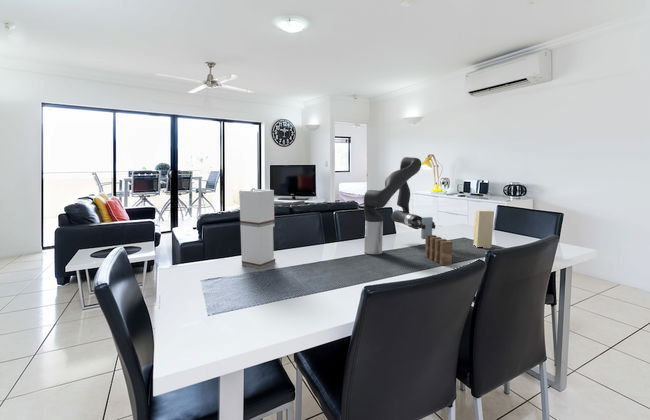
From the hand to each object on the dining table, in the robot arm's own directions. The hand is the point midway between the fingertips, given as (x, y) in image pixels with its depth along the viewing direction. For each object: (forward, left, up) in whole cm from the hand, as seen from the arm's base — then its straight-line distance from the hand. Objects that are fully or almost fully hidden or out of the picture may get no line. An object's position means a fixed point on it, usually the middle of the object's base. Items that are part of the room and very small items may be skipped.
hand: (429, 227), depth 173 cm
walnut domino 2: (+3, -6, -15) cm, 16 cm away
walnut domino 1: (+1, -2, -15) cm, 15 cm away
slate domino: (-1, +2, -7) cm, 7 cm away
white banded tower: (-80, -31, -15) cm, 87 cm away
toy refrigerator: (+32, +26, -15) cm, 44 cm away
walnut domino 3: (+4, -10, -15) cm, 19 cm away
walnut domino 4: (+6, -14, -15) cm, 22 cm away
